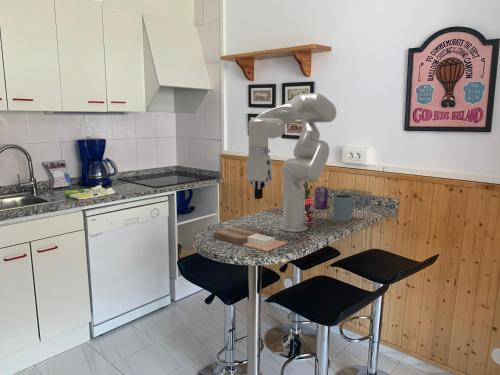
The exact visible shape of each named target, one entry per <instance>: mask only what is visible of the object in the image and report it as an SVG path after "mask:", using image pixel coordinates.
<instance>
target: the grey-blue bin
mask: <svg viewBox="0 0 500 375" xmlns="http://www.w3.org/2000/svg"><path fill="white" fill-rule="evenodd" d="M332 201H333V204H332V205H333V207H332V208H333V220H334V221H336V220H337V221H336V222H341V221H348V222H351V221H352V217H353V216H352V215H353V210H354V209H353V208H354V201H355V196H354V195H352V194H346V193H338V194H333V195H332Z"/></svg>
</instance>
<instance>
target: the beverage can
mask: <svg viewBox="0 0 500 375" xmlns="http://www.w3.org/2000/svg"><path fill="white" fill-rule="evenodd" d="M328 195H329V190H328V187H327V186H325V185H323V186H322V185H319V186H318V185H317V186H316V187H315V189H314V204H313V205H314V208H315V209H317V210H326V209H327V208H328V201H329V200H328Z"/></svg>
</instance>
